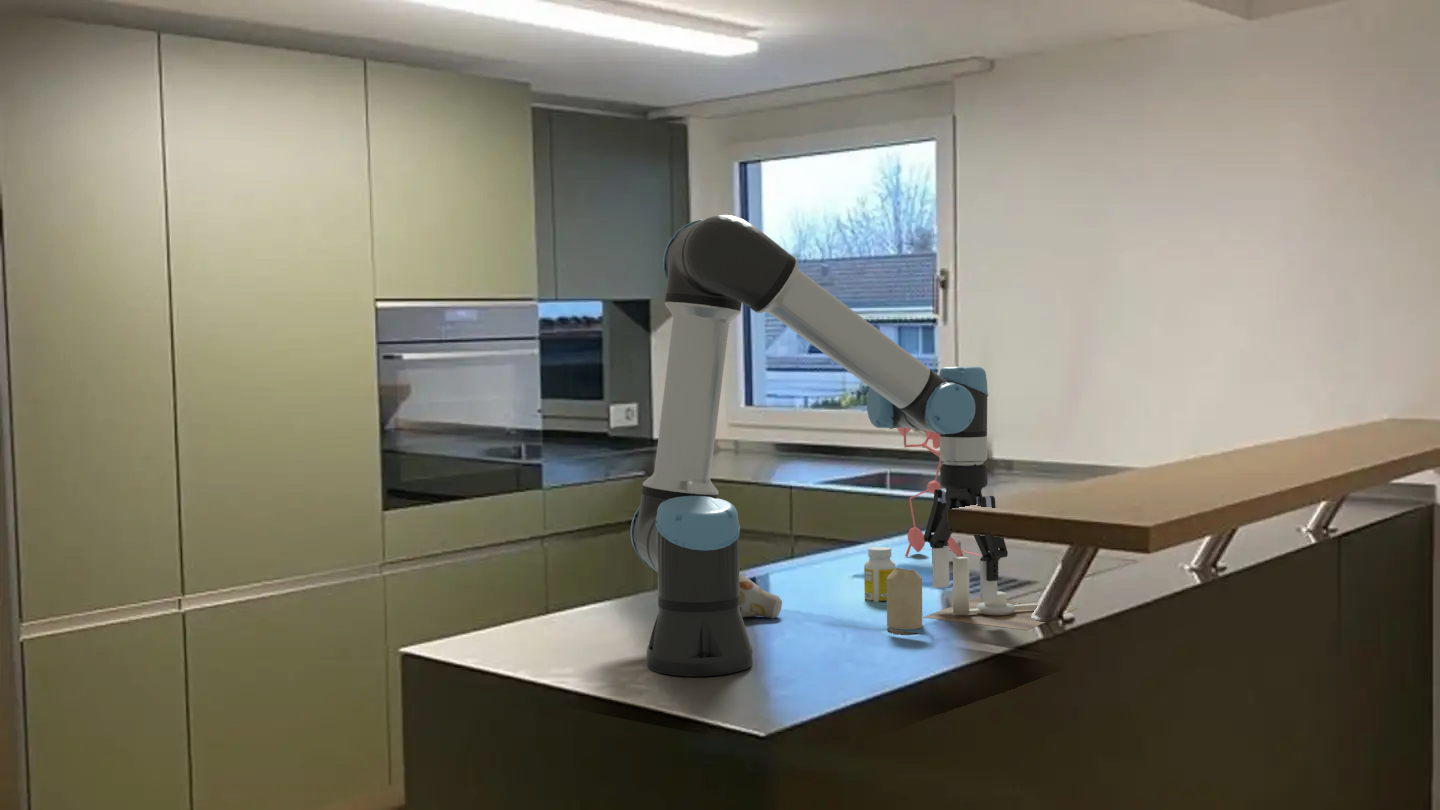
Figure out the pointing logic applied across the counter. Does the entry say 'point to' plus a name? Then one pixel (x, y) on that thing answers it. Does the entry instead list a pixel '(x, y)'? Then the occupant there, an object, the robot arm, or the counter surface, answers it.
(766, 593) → the mug
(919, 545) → the figurine
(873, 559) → the supplement bottle
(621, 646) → the counter surface
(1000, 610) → the handle
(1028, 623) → the board
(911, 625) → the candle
